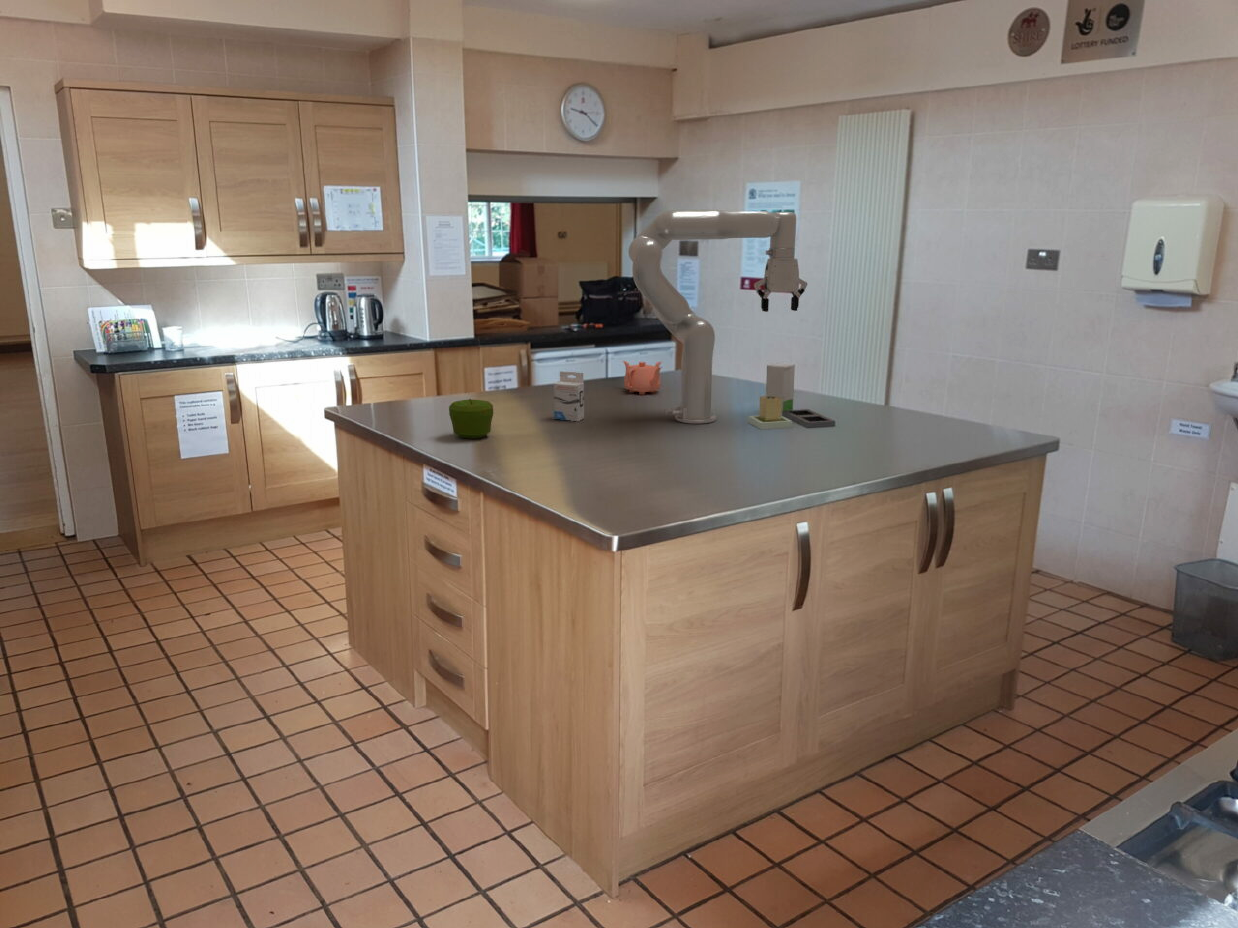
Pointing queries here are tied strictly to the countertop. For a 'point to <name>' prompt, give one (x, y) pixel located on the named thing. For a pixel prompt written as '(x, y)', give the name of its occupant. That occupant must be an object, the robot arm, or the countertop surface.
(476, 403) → the apple
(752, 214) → the robot arm
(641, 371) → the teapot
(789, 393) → the skincare box
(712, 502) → the countertop surface
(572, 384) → the ink box
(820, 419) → the grey metal tray
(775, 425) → the tray
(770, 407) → the pale yellow tall block
